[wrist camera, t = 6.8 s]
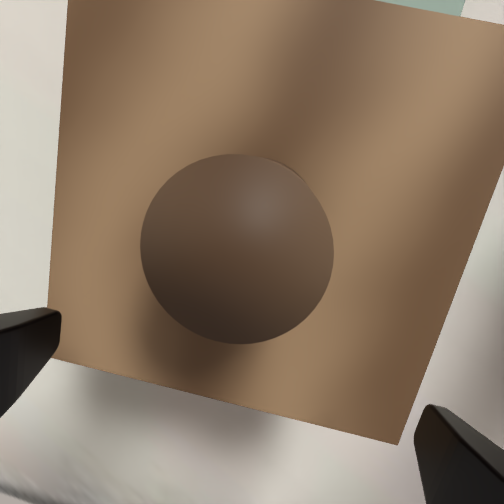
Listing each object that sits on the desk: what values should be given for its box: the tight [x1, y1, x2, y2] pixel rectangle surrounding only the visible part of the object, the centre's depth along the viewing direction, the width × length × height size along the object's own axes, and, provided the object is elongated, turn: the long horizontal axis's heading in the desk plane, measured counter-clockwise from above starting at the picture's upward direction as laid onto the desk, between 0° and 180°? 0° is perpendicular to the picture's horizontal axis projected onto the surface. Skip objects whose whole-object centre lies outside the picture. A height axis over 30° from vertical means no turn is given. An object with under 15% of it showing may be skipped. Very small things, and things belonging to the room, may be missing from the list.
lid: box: [47, 0, 504, 445], centre depth 10 cm, size 13×13×5 cm
